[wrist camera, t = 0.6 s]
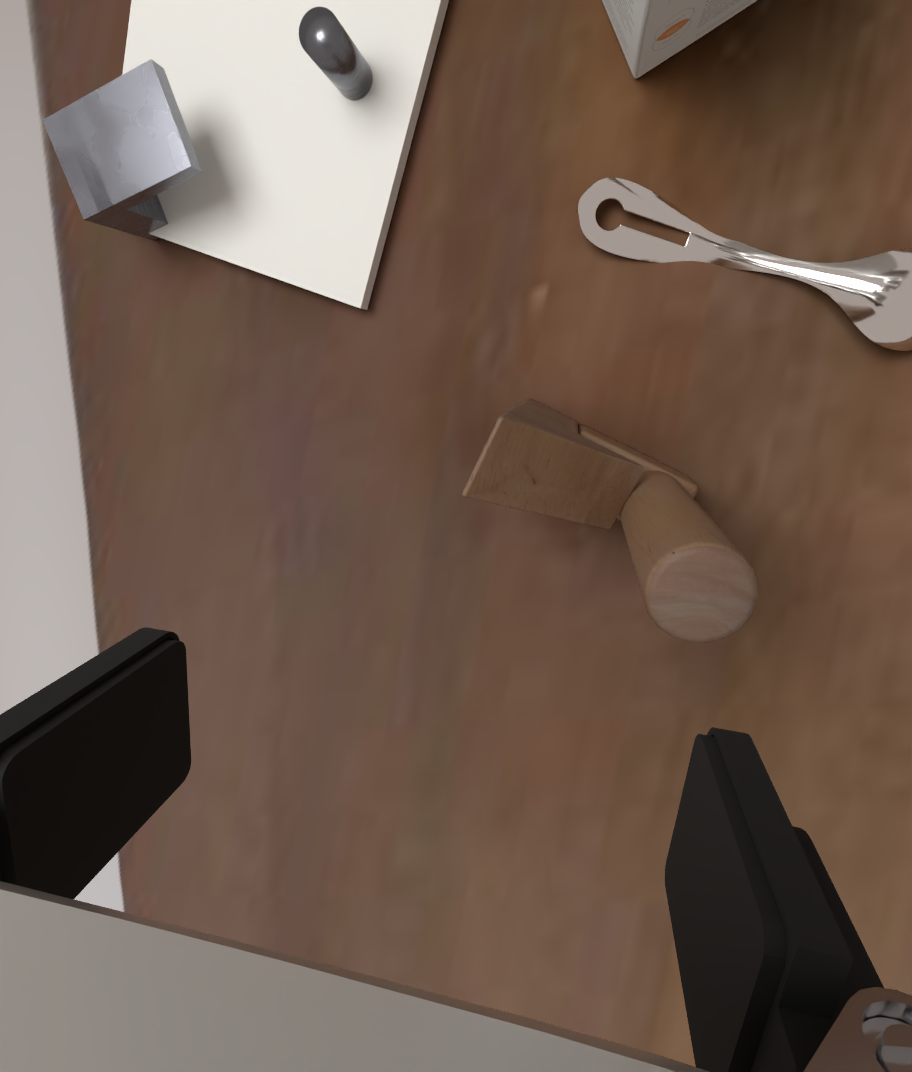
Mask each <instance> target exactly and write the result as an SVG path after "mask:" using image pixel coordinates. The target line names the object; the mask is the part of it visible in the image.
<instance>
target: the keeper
mask: <svg viewBox="0 0 912 1072" xmlns="http://www.w3.org/2000/svg"><path fill="white" fill-rule="evenodd" d="M42 121H43V123H44V125H45V128H46V130H47V133H48V135H49V137H50V140H51V142H52V144H53V147H54V149H55V152H56V154H57V156H58V159H59V161H60V164H61V166H62V168H63V171H64V173H65V176H66V178H67V180H68V183H69V185H70V187H71V190H72V192H73V195H74V197H75V199H76V202H77V204H78V207H79V209H80V211H81V214H82V216H83V219H84V220H87V221H90V222H94V223H97V224H100V225H104V226H107V227H111V228H114V229H117V230H121V231H124V232H128V233H131V234H134V235H138V236H141V237H144V238H148V239H151V240H157V239H159V237H157V236H154V235H151V234H148V233H150V232H153V231H155V230H157V229H159V228H161V227H163V226H165V225H167V224H168V222H167V219H166V216H165V214H164V211H163V209H162V206H161V204H160V201H159V199H158V196H157V194H159V193H161V192H163V191H165V190H167V189H169V188H171V187H173V186H175V185H177V184H179V183H181V182H183V181H185V180H187V179H189V178H192V177H194V176H196V175H198V174H200V173H202V169H201V166H200V164H199V161H198V158H197V156H196V153H195V150H194V148H193V145H192V142H191V140H190V137H189V134H188V132H187V129H186V126H185V124H184V121H183V118H182V116H181V113H180V110H179V108H178V105H177V102H176V100H175V97H174V94H173V92H172V89H171V86H170V84H169V81H168V78H167V76H166V73H165V70H164V68H163V67H161V66H160V65H158V64H157V63H156V62H154V61H153V60H152V59H150V60H148V61H146V62H145V63H143V64H141V65H139V66H137V67H136V68H134V69H132V70H130V71H129V72H127V73H125V74H123V75H122V76H120V77H118V78H116V79H114V80H113V81H111V82H109V83H107V84H106V85H104V86H102V87H100V88H99V89H97V90H95V91H93V92H91V93H90V94H88V95H86V96H84V97H83V98H81V99H79V100H77V101H76V102H74V103H72V104H70V105H68V106H67V107H65V108H63V109H61V110H60V111H58V112H56V113H54V114H53V115H51V116H49V117H47V118H45V119H44V120H42Z"/></svg>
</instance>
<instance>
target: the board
mask: <svg viewBox="0 0 912 1072" xmlns="http://www.w3.org/2000/svg"><path fill="white" fill-rule="evenodd" d="M448 3H449V0H132V2H131V10H130V18H129V26H128V34H127V42H126V50H125V58H124V66H123V74H125V73H127V72H129V71H130V70H132V69H134V68H136V67H137V66H139V65H141V64H143V63H145V62H146V61H148V60H150V59H152V60H153V61H154V62H156V63H157V64H158V65H160V66H161V67H163V68H164V70H165V73H166V76H167V78H168V81H169V84H170V86H171V89H172V92H173V94H174V97H175V100H176V102H177V105H178V108H179V110H180V113H181V116H182V118H183V121H184V124H185V126H186V129H187V132H188V134H189V137H190V140H191V142H192V145H193V148H194V150H195V153H196V156H197V158H198V161H199V164H200V166H201V169H202V173H200V174H198V175H196V176H194V177H192V178H189V179H187V180H185V181H183V182H181V183H179V184H177V185H175V186H173V187H171V188H169V189H167V190H165V191H163V192H161V193H159V194H157V196H158V199H159V201H160V204H161V206H162V209H163V211H164V214H165V216H166V219H167V222H168V224H167V225H165V226H163V227H161V228H159V229H157V230H155V231H153V232H150V233H148V234H151V235H154V236H157V237H159V238H162V239H165V240H168V241H171V242H174V243H176V244H179V245H182V246H185V247H188V248H191V249H193V250H196V251H199V252H202V253H205V254H208V255H210V256H213V257H216V258H219V259H222V260H225V261H227V262H230V263H233V264H236V265H239V266H242V267H244V268H247V269H250V270H253V271H256V272H259V273H261V274H264V275H267V276H270V277H273V278H276V279H278V280H281V281H284V282H287V283H290V284H293V285H295V286H298V287H301V288H304V289H307V290H310V291H312V292H315V293H318V294H321V295H324V296H327V297H329V298H332V299H335V300H338V301H341V302H344V303H346V304H349V305H352V306H355V307H358V308H361V309H364V310H367V309H368V305H369V301H370V297H371V293H372V290H373V286H374V282H375V278H376V275H377V271H378V267H379V263H380V259H381V256H382V252H383V248H384V244H385V241H386V237H387V233H388V229H389V226H390V222H391V218H392V214H393V210H394V207H395V203H396V199H397V195H398V192H399V188H400V184H401V180H402V176H403V173H404V169H405V165H406V161H407V158H408V154H409V150H410V146H411V142H412V139H413V135H414V131H415V127H416V124H417V120H418V116H419V112H420V108H421V105H422V101H423V97H424V93H425V90H426V86H427V82H428V78H429V74H430V71H431V67H432V63H433V59H434V56H435V52H436V48H437V44H438V40H439V37H440V33H441V29H442V25H443V22H444V18H445V14H446V10H447V6H448ZM314 7H325V8H327V9H329V10H330V11H332V12H333V14H334V15H335V16H336V18H337V19H338V21H339V22H340V24H341V25H342V26H343V28H344V29H345V31H346V32H347V34H348V35H349V37H350V38H351V40H352V41H353V42H354V44H355V45H356V47H357V48H358V50H359V51H360V53H361V54H362V56H363V57H364V58H365V60H366V61H367V63H368V64H369V66H370V68H371V70H372V75H373V82H372V86H371V89H370V91H369V92H368V94H367V95H366V96H365V97H364V98H362V99H360V100H355V101H354V100H349V99H347V98H345V97H344V96H343V95H342V94H341V92H340V91H339V90H338V89H337V88H336V87H335V86H334V84H333V83H332V82H331V81H330V80H329V79H328V77H327V76H326V75H325V74H324V73H323V72H322V70H321V69H320V68H319V67H318V66H317V65H316V63H315V62H314V61H313V60H312V59H311V58H310V57H309V55H308V54H307V53H306V52H305V51H304V49H303V48H302V46H301V43H300V40H299V26H300V22H301V20H302V18H303V16H304V15H305V14H306V12H308V11H309V10H310V9H312V8H314ZM123 74H122V75H123Z"/></svg>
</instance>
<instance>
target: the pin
mask: <svg viewBox="0 0 912 1072" xmlns="http://www.w3.org/2000/svg"><path fill="white" fill-rule="evenodd" d="M299 40H300V43H301V46H302V48H303V49H304V51H305V52H306V53H307V54H308V55H309V57H310V58H311V59H312V60H313V61H314V62H315V63H316V65H317V66H318V67H319V68H320V69H321V70H322V72H323V73H324V74H325V75H326V76H327V77H328V79H329V80H330V81H331V82H332V83H333V84H334V86H335V87H336V88H337V89H338V90H339V91H340V92H341V94H342V95H343V96H344V97H345V98H347V99H349V100H354V101H355V100H360V99H362V98H364V97H365V96H366V95H367V94H368V92H369V91H370V89H371V86H372V82H373V75H372V70H371V68H370V66H369V64H368V63H367V61H366V60H365V58H364V57H363V56H362V54H361V53H360V51H359V50H358V48H357V47H356V45H355V44H354V42H353V41H352V40H351V38H350V37H349V35H348V34H347V32H346V31H345V29H344V28H343V26H342V25H341V24H340V22H339V21H338V19H337V18H336V16H335V15H334V14H333V12H332V11H330V10H329V9H327V8H325V7H314V8H312V9H310V10H309V11H308V12H306V14H305V15H304V16H303V18H302V20H301V22H300V26H299Z"/></svg>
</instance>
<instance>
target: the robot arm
mask: <svg viewBox="0 0 912 1072" xmlns="http://www.w3.org/2000/svg"><path fill="white" fill-rule="evenodd" d="M190 766H191V748H190V727H189V706H188V685H187V664H186V648H185V645H184V643H183V642H181V641H179V638H178V636H177V634H175V633H174V632H169V631H164V630H158V629H152V628H142V629H139V630H138V631H136V632H134V633H133V634H131V635H130V636H128V637H126V638H125V639H123V640H121V641H120V642H118V643H117V644H115V645H113V646H112V647H110V648H108V649H107V650H105V651H103V652H102V653H100V654H99V655H97V656H95V657H94V658H92V659H90V660H89V661H87V662H86V663H84V664H82V665H81V666H79V667H77V668H76V669H74V670H73V671H71V672H69V673H68V674H66V675H64V676H63V677H61V678H60V679H58V680H56V681H55V682H53V683H51V684H50V685H48V686H46V687H45V688H43V689H42V690H40V691H38V692H37V693H35V694H33V695H32V696H30V697H29V698H27V699H25V700H24V701H22V702H21V703H19V704H17V705H16V706H14V707H12V708H11V709H9V710H7V711H6V712H4V713H2V714H1V715H0V1072H912V996H910V995H908V994H905V993H903V992H900V991H898V990H893V989H887V988H884V987H883V985H882V983H881V981H880V979H879V977H878V975H877V973H876V971H875V969H874V967H873V965H872V962H871V960H870V958H869V956H868V954H867V952H866V950H865V948H864V946H863V944H862V942H861V940H860V938H859V936H858V934H857V932H856V930H855V928H854V926H853V924H852V922H851V920H850V918H849V916H848V914H847V912H846V909H845V907H844V905H843V903H842V901H841V899H840V897H839V895H838V893H837V891H836V889H835V887H834V885H833V883H832V881H831V879H830V877H829V875H828V873H827V871H826V869H825V867H824V865H823V863H822V861H821V858H820V856H819V854H818V852H817V850H816V848H815V846H814V844H813V842H812V840H811V839H810V837H809V835H808V834H807V832H806V831H804V830H803V829H801V828H798V827H793V826H792V825H791V823H790V821H789V818H788V816H787V814H786V812H785V810H784V808H783V805H782V803H781V801H780V799H779V797H778V795H777V792H776V790H775V788H774V786H773V784H772V782H771V780H770V777H769V775H768V773H767V771H766V769H765V767H764V764H763V762H762V760H761V758H760V756H759V754H758V751H757V749H756V747H755V745H754V743H753V741H752V739H751V737H750V735H749V734H746V733H741V732H735V731H730V730H724V729H718V728H713V727H712V728H711V729H710V730H709V732H708V734H707V735H702V734H698V735H697V736H696V738H695V742H694V746H693V750H692V754H691V758H690V763H689V767H688V771H687V776H686V780H685V784H684V788H683V793H682V797H681V801H680V805H679V810H678V814H677V818H676V823H675V827H674V831H673V835H672V840H671V844H670V848H669V852H668V857H667V861H666V868H665V886H666V893H667V899H668V905H669V911H670V917H671V922H672V928H673V934H674V940H675V946H676V952H677V958H678V964H679V970H680V976H681V982H682V988H683V993H684V999H685V1005H686V1011H687V1017H688V1023H689V1029H690V1035H691V1041H692V1047H693V1053H694V1059H695V1064H696V1067H693V1066H690V1065H687V1064H684V1063H681V1062H678V1061H675V1060H672V1059H669V1058H666V1057H663V1056H660V1055H657V1054H654V1053H650V1052H647V1051H643V1050H640V1049H636V1048H633V1047H629V1046H626V1045H622V1044H619V1043H615V1042H612V1041H608V1040H605V1039H601V1038H598V1037H594V1036H591V1035H587V1034H584V1033H580V1032H576V1031H573V1030H569V1029H566V1028H562V1027H559V1026H555V1025H552V1024H548V1023H545V1022H541V1021H538V1020H534V1019H531V1018H527V1017H523V1016H519V1015H516V1014H512V1013H508V1012H504V1011H501V1010H497V1009H493V1008H489V1007H486V1006H482V1005H478V1004H474V1003H470V1002H467V1001H463V1000H459V999H455V998H452V997H448V996H444V995H440V994H437V993H433V992H429V991H425V990H422V989H418V988H414V987H410V986H406V985H403V984H399V983H395V982H391V981H388V980H384V979H380V978H376V977H373V976H369V975H365V974H361V973H358V972H354V971H350V970H346V969H342V968H338V967H335V966H331V965H327V964H323V963H319V962H315V961H311V960H308V959H304V958H300V957H296V956H292V955H288V954H285V953H281V952H277V951H273V950H269V949H265V948H261V947H258V946H254V945H250V944H246V943H242V942H238V941H234V940H230V939H227V938H223V937H219V936H215V935H211V934H207V933H203V932H199V931H196V930H192V929H188V928H184V927H180V926H176V925H172V924H168V923H164V922H161V921H157V920H153V919H149V918H145V917H141V916H137V915H133V914H129V913H125V912H120V911H117V910H113V909H109V908H105V907H101V906H97V905H93V904H89V903H85V902H81V901H77V900H73V899H74V898H75V897H76V896H77V895H78V894H79V893H80V892H81V891H82V890H83V889H84V887H85V886H86V885H87V884H88V883H89V882H90V881H91V880H92V879H93V878H94V877H95V875H97V874H98V873H99V871H100V870H101V869H102V868H103V867H104V866H105V865H106V864H107V863H108V862H109V861H110V860H111V859H112V858H113V857H114V855H115V854H116V853H117V852H118V851H119V850H120V849H121V848H122V847H123V846H124V845H125V844H126V843H127V842H128V841H129V839H130V838H131V837H132V836H133V835H134V834H135V833H136V832H137V831H138V830H139V829H140V828H141V827H142V826H143V824H144V823H145V822H146V821H147V820H148V819H149V818H150V817H151V816H152V815H153V814H154V813H155V812H156V811H157V809H158V808H159V807H160V806H161V805H162V804H163V803H164V802H165V801H166V800H167V799H168V798H169V797H170V796H171V795H172V793H173V792H174V791H175V790H176V789H177V788H178V787H179V786H180V785H181V784H182V783H183V781H184V780H185V779H186V777H187V775H188V772H189V770H190Z"/></svg>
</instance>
